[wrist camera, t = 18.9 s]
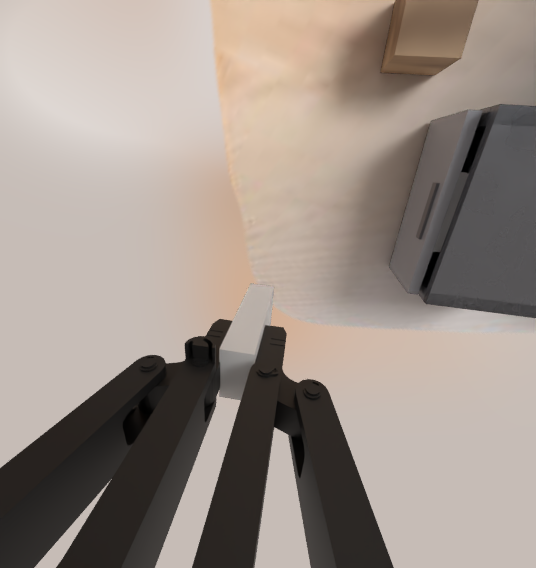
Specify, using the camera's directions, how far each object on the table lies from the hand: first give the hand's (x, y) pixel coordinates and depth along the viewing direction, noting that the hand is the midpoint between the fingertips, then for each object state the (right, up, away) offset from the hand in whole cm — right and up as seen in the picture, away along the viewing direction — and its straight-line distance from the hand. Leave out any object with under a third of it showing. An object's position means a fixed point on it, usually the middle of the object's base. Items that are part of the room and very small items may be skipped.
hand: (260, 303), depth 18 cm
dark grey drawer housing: (+24, +10, +12) cm, 28 cm away
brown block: (+14, +24, +7) cm, 28 cm away
